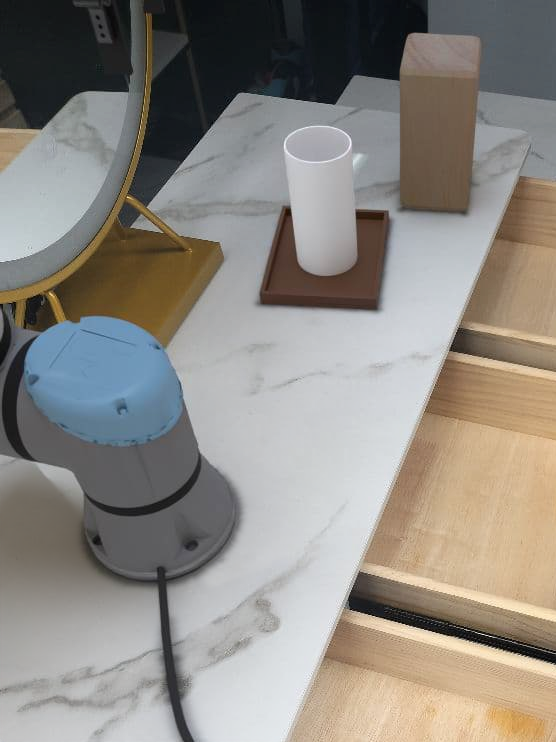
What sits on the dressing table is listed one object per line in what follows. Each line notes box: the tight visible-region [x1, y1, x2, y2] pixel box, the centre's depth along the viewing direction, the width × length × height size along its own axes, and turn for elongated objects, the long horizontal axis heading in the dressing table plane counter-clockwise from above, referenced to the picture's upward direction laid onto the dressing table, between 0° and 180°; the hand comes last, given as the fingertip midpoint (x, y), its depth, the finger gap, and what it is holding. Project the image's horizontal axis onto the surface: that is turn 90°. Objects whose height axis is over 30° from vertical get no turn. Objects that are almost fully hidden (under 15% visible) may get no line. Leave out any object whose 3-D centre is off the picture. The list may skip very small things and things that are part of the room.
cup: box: [283, 125, 358, 276], centre depth 105 cm, size 8×8×16 cm
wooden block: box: [399, 32, 483, 212], centre depth 112 cm, size 10×10×20 cm
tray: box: [259, 205, 390, 310], centre depth 111 cm, size 19×15×2 cm
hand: (136, 41), depth 87 cm, fingers open, 13 cm apart
